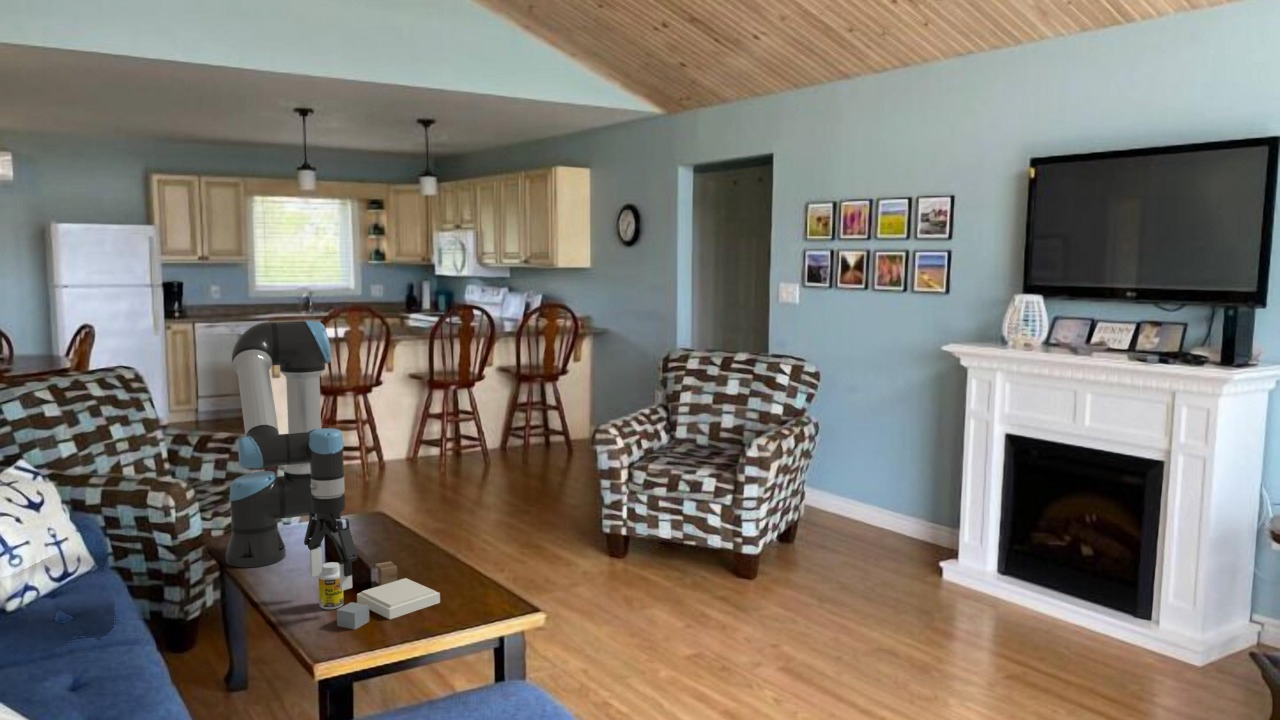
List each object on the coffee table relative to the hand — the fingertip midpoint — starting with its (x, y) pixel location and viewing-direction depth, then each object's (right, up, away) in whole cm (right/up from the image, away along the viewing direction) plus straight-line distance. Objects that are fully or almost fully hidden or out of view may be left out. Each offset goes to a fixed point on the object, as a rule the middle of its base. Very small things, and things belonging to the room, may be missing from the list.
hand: (331, 582), depth 224 cm
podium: (+15, -6, +3) cm, 17 cm away
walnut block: (+9, -4, +16) cm, 19 cm away
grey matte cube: (+8, -8, -9) cm, 14 cm away
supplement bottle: (0, -6, +1) cm, 6 cm away
